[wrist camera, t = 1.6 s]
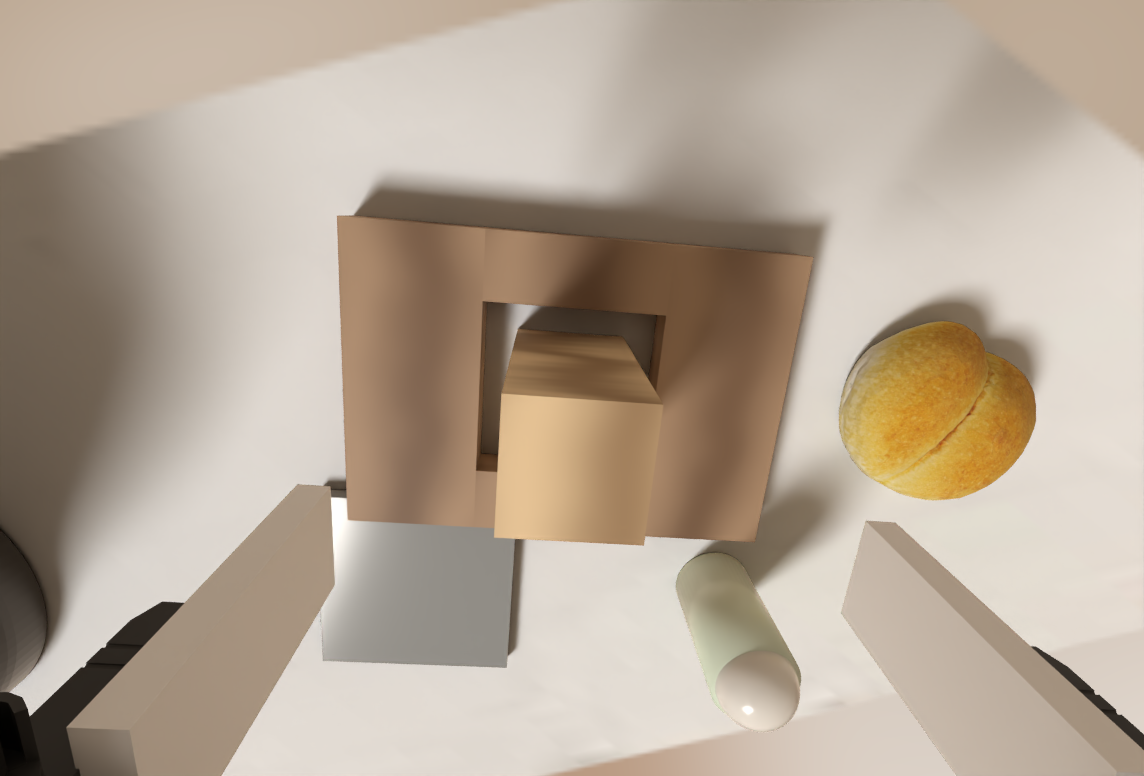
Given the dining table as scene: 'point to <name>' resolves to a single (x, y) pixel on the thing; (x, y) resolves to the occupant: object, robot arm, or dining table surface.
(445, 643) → the slate board
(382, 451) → the walnut board
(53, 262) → the dining table surface
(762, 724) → the sage shaker
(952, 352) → the bread roll
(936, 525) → the dining table surface
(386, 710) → the dining table surface
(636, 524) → the oak block
